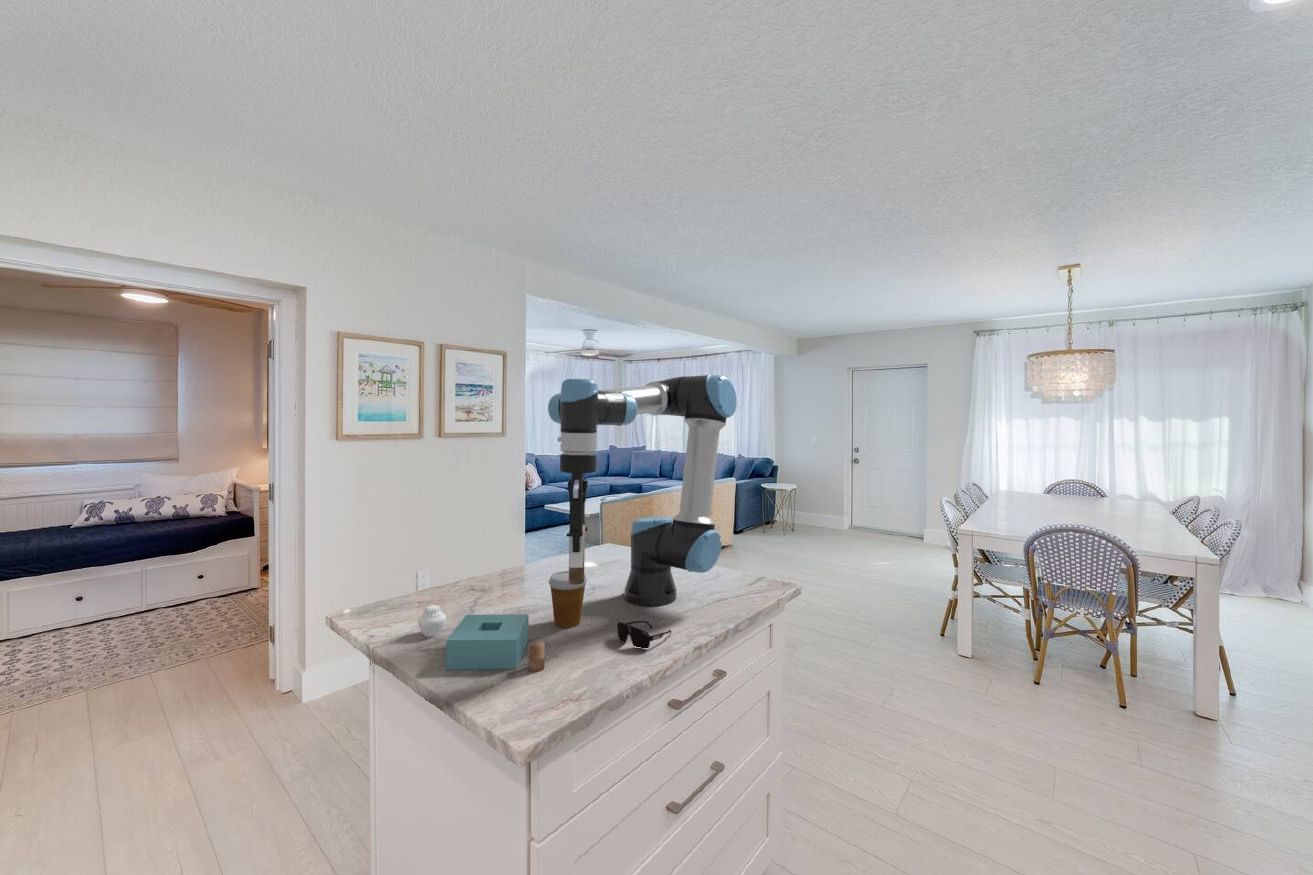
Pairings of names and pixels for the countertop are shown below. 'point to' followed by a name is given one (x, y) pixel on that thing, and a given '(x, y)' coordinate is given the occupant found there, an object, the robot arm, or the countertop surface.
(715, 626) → the countertop surface
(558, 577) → the disposable coffee cup
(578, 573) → the tall pin
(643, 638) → the sunglasses
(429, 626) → the white ribbed jar
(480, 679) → the countertop surface
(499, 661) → the hole block
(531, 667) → the short pin
